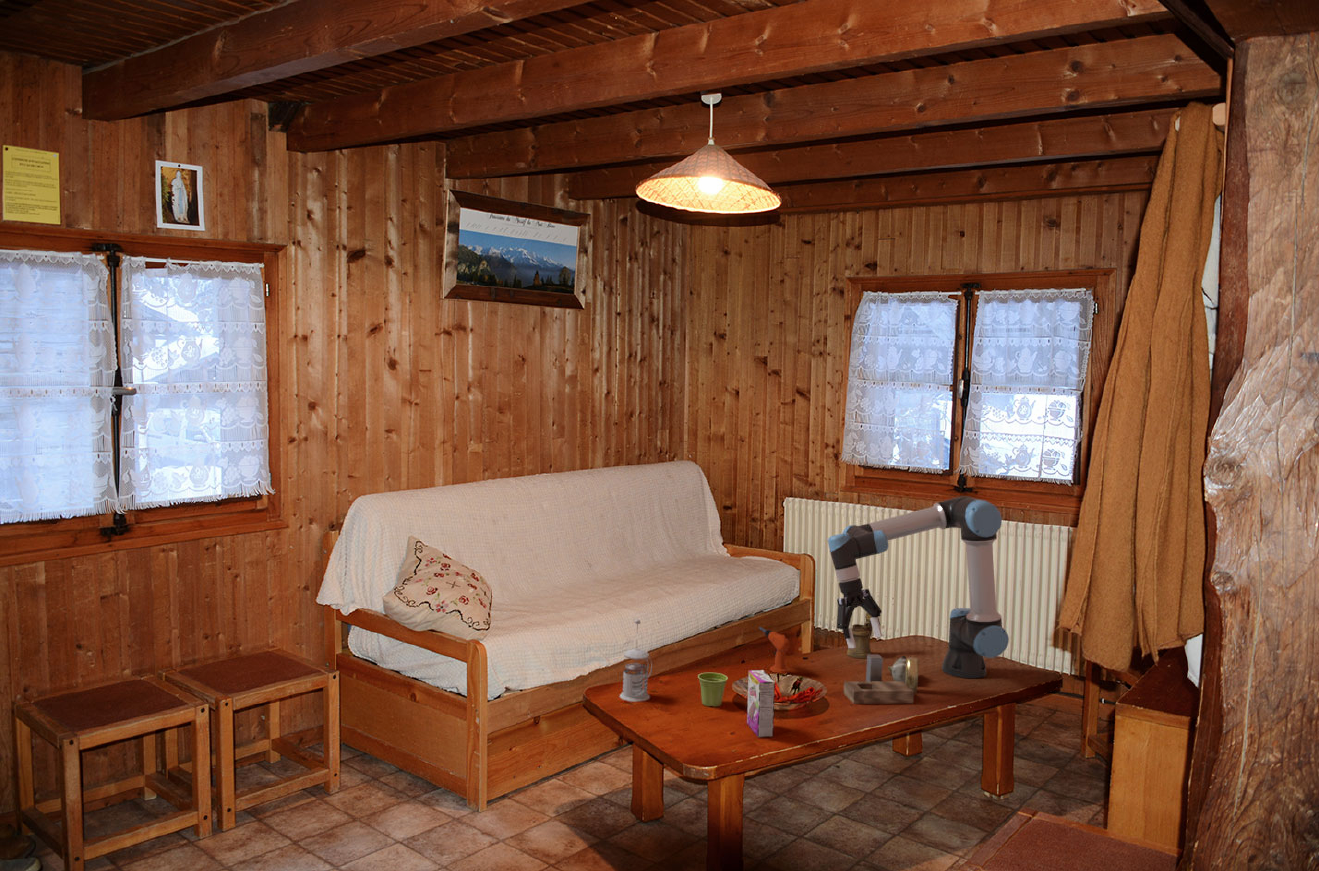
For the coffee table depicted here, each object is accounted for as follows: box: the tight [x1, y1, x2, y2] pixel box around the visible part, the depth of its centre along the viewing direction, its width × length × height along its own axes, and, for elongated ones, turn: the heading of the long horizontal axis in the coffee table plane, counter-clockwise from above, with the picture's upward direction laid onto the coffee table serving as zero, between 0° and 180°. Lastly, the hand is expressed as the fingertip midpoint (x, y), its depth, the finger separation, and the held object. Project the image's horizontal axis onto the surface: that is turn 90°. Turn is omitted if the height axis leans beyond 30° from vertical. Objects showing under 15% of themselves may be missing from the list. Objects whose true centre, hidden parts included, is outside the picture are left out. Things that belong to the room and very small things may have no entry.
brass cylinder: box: [905, 656, 920, 694], centre depth 323 cm, size 4×4×11 cm
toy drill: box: [758, 626, 791, 673], centre depth 342 cm, size 5×18×14 cm, turn 28°
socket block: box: [843, 680, 915, 705], centre depth 315 cm, size 20×10×4 cm, turn 97°
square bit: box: [865, 654, 884, 681], centre depth 325 cm, size 4×4×11 cm
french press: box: [619, 619, 653, 703], centre depth 308 cm, size 10×12×25 cm
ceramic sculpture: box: [887, 655, 920, 683], centre depth 336 cm, size 11×9×15 cm
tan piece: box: [846, 612, 873, 659], centre depth 364 cm, size 9×14×18 cm, turn 125°
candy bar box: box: [746, 669, 776, 738], centre depth 282 cm, size 11×5×16 cm, turn 12°
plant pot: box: [697, 671, 729, 707], centre depth 304 cm, size 9×9×9 cm
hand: (865, 642), depth 320 cm, fingers open, 13 cm apart
